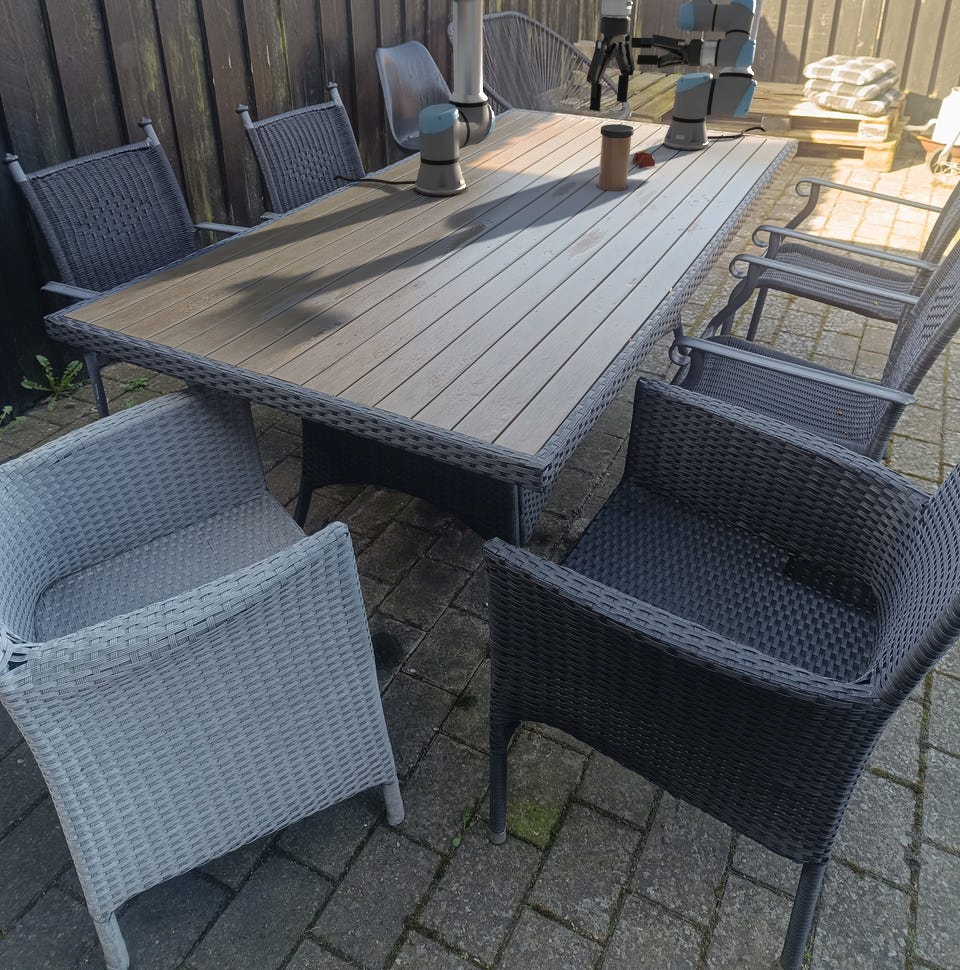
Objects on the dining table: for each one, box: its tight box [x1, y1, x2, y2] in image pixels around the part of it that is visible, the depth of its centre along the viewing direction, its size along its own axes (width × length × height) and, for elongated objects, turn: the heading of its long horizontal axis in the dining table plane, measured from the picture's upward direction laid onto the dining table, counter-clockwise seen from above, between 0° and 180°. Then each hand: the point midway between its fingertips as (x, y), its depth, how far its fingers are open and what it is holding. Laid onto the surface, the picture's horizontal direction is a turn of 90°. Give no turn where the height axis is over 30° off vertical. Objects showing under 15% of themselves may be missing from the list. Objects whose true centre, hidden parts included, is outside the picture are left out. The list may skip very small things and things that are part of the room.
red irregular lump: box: [632, 150, 656, 168], centre depth 280 cm, size 6×4×8 cm
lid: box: [600, 123, 635, 138], centre depth 252 cm, size 10×10×2 cm
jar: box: [597, 135, 632, 192], centre depth 256 cm, size 9×9×17 cm
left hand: (608, 106), depth 226 cm, fingers open, 13 cm apart
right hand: (634, 51), depth 265 cm, fingers open, 13 cm apart
